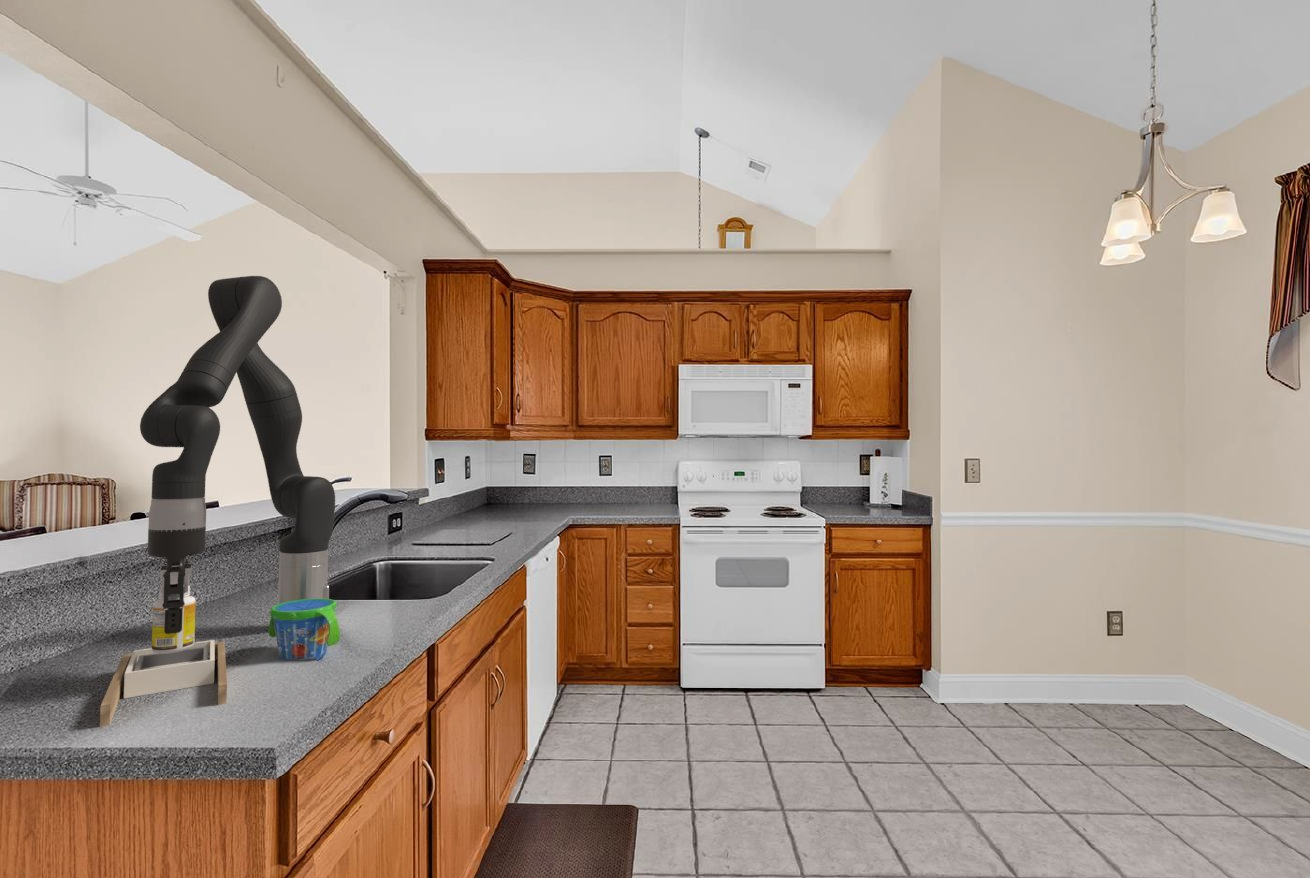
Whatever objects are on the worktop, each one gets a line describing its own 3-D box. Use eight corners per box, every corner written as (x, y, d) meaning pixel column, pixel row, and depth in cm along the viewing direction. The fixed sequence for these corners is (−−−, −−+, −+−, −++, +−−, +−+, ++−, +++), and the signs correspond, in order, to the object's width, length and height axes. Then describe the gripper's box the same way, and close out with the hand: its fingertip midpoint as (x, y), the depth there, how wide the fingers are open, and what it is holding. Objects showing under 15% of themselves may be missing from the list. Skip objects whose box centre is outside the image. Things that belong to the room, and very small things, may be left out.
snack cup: (248, 660, 113) (250, 605, 113) (303, 645, 122) (305, 593, 122) (301, 675, 106) (303, 616, 106) (355, 658, 115) (357, 603, 115)
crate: (213, 660, 109) (214, 639, 109) (213, 683, 98) (214, 660, 98) (133, 672, 102) (133, 650, 102) (123, 698, 92) (124, 673, 92)
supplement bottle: (189, 642, 104) (191, 582, 105) (198, 649, 101) (200, 587, 101) (147, 649, 100) (149, 587, 100) (155, 657, 97) (157, 592, 97)
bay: (223, 663, 111) (224, 641, 111) (226, 711, 91) (227, 684, 91) (122, 679, 103) (122, 655, 103) (99, 735, 82) (100, 705, 82)
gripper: (205, 528, 97) (201, 635, 97) (206, 520, 109) (203, 615, 109) (144, 531, 93) (140, 643, 93) (152, 522, 105) (148, 621, 104)
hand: (174, 627), depth 101 cm, fingers closed on supplement bottle, 5 cm apart
